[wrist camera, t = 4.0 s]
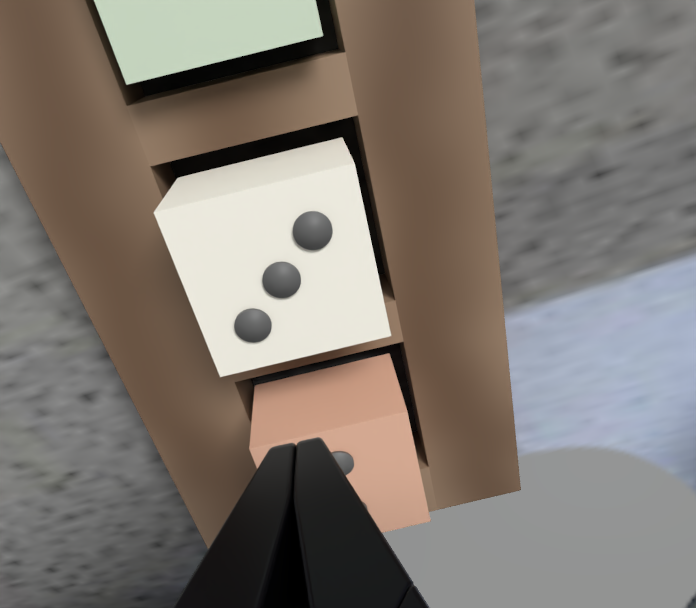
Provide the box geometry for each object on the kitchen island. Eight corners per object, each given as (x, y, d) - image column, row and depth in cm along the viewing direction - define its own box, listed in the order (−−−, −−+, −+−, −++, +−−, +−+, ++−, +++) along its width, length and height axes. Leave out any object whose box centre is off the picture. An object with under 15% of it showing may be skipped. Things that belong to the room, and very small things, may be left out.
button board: (407, -389, 11) (430, -464, 10) (502, 453, 23) (520, 490, 21) (-145, -246, 12) (-223, -294, 10) (220, 520, 23) (214, 562, 21)
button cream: (342, 137, 15) (355, 164, 12) (374, 285, 17) (391, 337, 14) (177, 177, 15) (152, 213, 12) (230, 320, 17) (219, 379, 14)
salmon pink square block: (389, 353, 18) (408, 413, 15) (411, 454, 20) (431, 523, 17) (254, 385, 18) (248, 451, 15) (291, 483, 20) (291, 556, 17)
